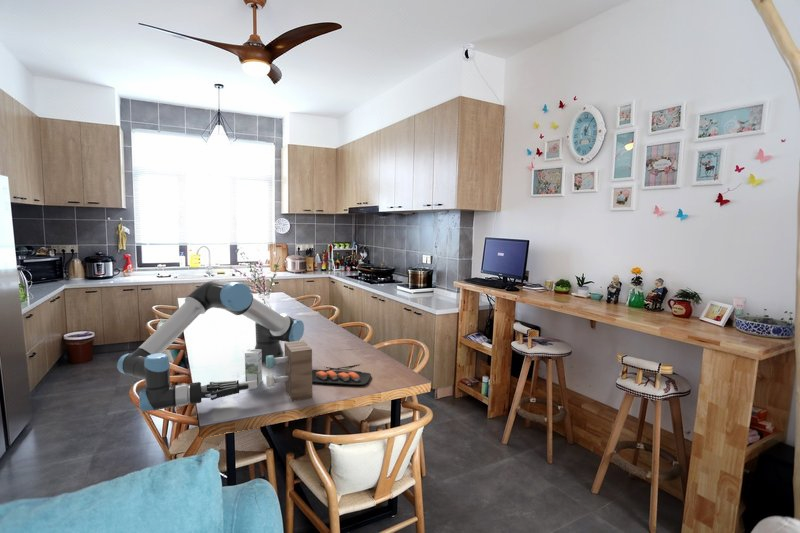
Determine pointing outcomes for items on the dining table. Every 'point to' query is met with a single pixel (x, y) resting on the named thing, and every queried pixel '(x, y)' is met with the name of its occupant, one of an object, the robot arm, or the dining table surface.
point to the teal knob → (275, 360)
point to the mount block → (298, 370)
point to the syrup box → (253, 365)
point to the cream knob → (275, 380)
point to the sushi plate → (340, 376)
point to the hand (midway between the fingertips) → (256, 383)
